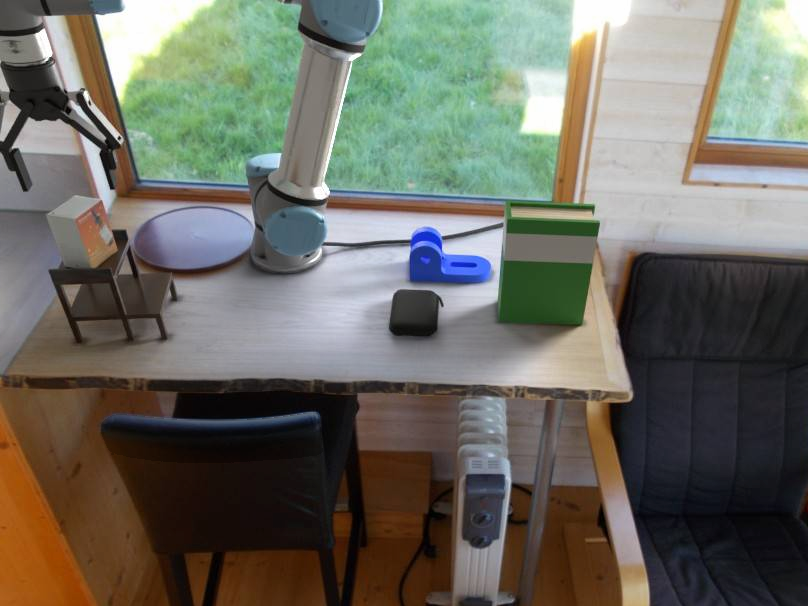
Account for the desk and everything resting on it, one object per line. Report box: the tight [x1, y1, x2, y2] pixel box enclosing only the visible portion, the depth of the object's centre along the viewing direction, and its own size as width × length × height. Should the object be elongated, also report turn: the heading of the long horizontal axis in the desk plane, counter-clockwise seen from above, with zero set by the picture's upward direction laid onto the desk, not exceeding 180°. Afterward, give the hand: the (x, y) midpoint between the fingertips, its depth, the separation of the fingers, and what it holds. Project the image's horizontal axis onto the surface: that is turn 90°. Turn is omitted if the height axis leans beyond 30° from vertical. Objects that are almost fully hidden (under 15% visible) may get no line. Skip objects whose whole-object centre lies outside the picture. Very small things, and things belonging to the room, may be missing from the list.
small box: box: [45, 194, 117, 268], centre depth 132 cm, size 8×6×10 cm
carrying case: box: [388, 288, 444, 338], centre depth 152 cm, size 11×3×15 cm
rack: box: [47, 228, 179, 344], centre depth 140 cm, size 16×14×16 cm
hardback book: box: [497, 199, 601, 325], centre depth 150 cm, size 18×7×24 cm, turn 94°
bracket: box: [408, 226, 492, 284], centre depth 164 cm, size 18×8×9 cm, turn 93°
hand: (71, 187), depth 127 cm, fingers open, 13 cm apart
